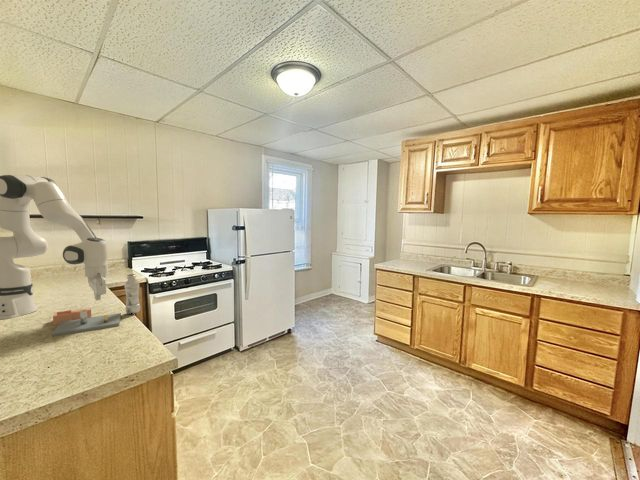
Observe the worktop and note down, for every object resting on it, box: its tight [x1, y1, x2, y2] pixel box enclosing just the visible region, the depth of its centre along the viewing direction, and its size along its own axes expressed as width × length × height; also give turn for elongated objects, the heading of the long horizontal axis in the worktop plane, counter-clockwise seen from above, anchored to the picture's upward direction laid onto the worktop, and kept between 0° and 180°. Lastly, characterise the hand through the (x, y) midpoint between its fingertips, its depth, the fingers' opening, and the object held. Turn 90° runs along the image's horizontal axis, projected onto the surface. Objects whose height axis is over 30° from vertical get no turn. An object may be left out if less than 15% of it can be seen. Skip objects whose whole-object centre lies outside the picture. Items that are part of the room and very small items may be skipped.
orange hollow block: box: [52, 307, 92, 326], centre depth 131 cm, size 13×7×4 cm, turn 130°
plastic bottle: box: [124, 273, 141, 315], centre depth 140 cm, size 6×7×20 cm
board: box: [52, 312, 122, 337], centre depth 124 cm, size 22×15×2 cm
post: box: [80, 310, 109, 325], centre depth 123 cm, size 10×2×6 cm, turn 104°
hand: (97, 299), depth 133 cm, fingers closed
